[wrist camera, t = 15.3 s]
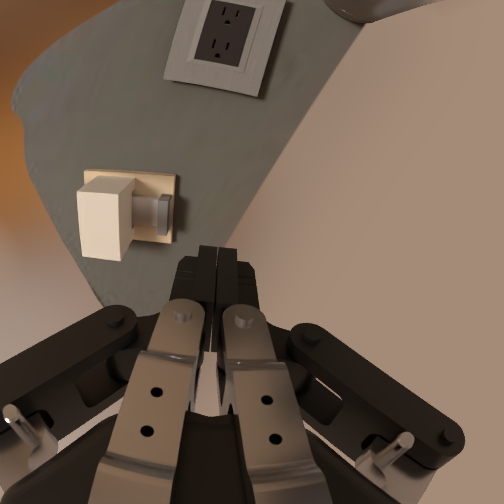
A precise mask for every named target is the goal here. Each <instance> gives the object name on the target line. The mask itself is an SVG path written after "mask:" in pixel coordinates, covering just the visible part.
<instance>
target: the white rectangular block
mask: <svg viewBox="0 0 504 504" xmlns="http://www.w3.org/2000/svg"><path fill="white" fill-rule="evenodd" d="M134 189H135V177H121V176H106V175H98V176H96V177H95V178H94V179H92V180H91V181H90V182H88V183H87V184H86V185H84V186H83V187H82V188H81V189H79V190H78V191H77V204H78V218H79V229H80V239H81V248H82V256H85V257H92V258H100V259H108V260H115V261H121V259H122V258H123V256H124V254H125V252H126V250H127V249H128V247H129V245H130V243H131V242H132V240H133V238H134V226H132V192H133V190H134Z"/></svg>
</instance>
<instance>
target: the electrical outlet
mask: <svg viewBox="0 0 504 504" xmlns="http://www.w3.org/2000/svg"><path fill="white" fill-rule="evenodd" d="M285 2H286V0H186V1H185V4H184V7H183V10H182V13H181V16H180V19H179V22H178V26H177V29H176V32H175V36H174V39H173V43H172V46H171V50H170V53H169V57H168V61H167V65H166V69H165V73H164V77H163V79H166V80H173V81H180V82H186V83H193V84H198V85H204V86H209V87H215V88H220V89H225V90H229V91H234V92H238V93H243V94H247V95H251V96H255V97H257V96H258V92H259V89H260V85H261V82H262V78H263V75H264V71H265V68H266V64H267V61H268V58H269V54H270V51H271V48H272V44H273V41H274V38H275V34H276V31H277V28H278V25H279V21H280V18H281V15H282V12H283V9H284V5H285Z"/></svg>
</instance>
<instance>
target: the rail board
mask: <svg viewBox="0 0 504 504" xmlns="http://www.w3.org/2000/svg"><path fill="white" fill-rule="evenodd" d="M98 175H106V176H121V177H135V189H134V190H133V192H132V226H134V238H133V240H143V241H152V242H162V243H171V242H172V231H173V211H174V194H175V180H176V174H167V173H155V172H141V171H125V170H105V169H86V170H85V171H84V185H86V184H87V183H88V182H90V181H91V180H92V179H94V178H95V177H96V176H98Z"/></svg>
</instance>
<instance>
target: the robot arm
mask: <svg viewBox="0 0 504 504" xmlns="http://www.w3.org/2000/svg"><path fill="white" fill-rule="evenodd" d="M324 1H325V2H326V4H327V5H328V6H329V7H330V8H331V9H332V10H333V11H334V12H335V13H337V14H338V15H340V16H341V17H343V18H345V19H347V20H350V21H352V22H357V23H372V22H375V21H378V20H380V19H383V18H386V17H389V16H392V15H395V14H398V13H401V12H404V11H407V10H410V9H413V8H417V7H420V6H423V5H427V4H431V3H434V2H438V1H442V0H324ZM216 261H217V266H216ZM212 318H213V319H212ZM211 328H212V340H211V341H212V342H211V343H212V344H211V352H217V364H216V378H217V390H218V401H219V414H220V416H215V417H208V416H204V415H201V414H198V413H194V411H195V404H196V397H197V391H198V384H199V378H200V372H201V365H202V363H203V359H204V358H203V357H204V351H207V352H209V348H210V338H211ZM316 378H318V379H319V380H320V381H321V382H323V383H324V384H325V385H326V386H328V387H329V388H330V389H332V390H333V391H334V392H335V393H337V394H338V395H339V396H340V397H341V399H342V400H341V399H340V398H339V397H337V396H336V395H335V394H334V393H332V392H331V391H330V390H328V389H327V388H326V387H325V386H323V385H322V384H321V383H320V382H318V381H317V380H316ZM123 396H124V398H123V401H122V404H121V407H120V410H119V413H118V414H115V415H113V416H110V417H108V418H106V419H104V420H103V421H101V422H100V423H98V424H97V425H95V426H94V427H93V428H91V429H90V430H89V431H87V432H86V433H85V434H84V435H82V436H81V437H79V438H78V439H77V440H75V441H74V442H73V443H71V444H70V445H69V446H67V447H66V448H64V449H63V450H62V451H60V452H59V453H58V454H57V451H58V441H59V440H61V439H62V438H64V437H65V436H67V435H68V434H70V433H71V432H73V431H74V430H76V429H77V428H79V427H80V426H81V425H83V424H85V423H86V422H87V421H89V420H90V419H92V418H93V417H95V416H96V415H98V414H99V413H101V412H102V411H103V410H105V409H106V408H108V407H109V406H110V405H112V404H113V403H115V402H116V401H118V400H119V399H120V398H122V397H123ZM302 419H303V420H304V421H305V422H306V423H307V424H308V425H310V426H311V427H312V428H313V429H314V430H316V431H317V432H318V433H319V434H320V435H322V436H323V437H324V438H325V439H327V440H328V441H329V442H330V443H331V444H333V445H334V446H335V447H337V448H338V449H339V450H340V451H342V452H343V453H344V454H345V455H347V456H348V457H349V458H351V459H352V460H353V461H355V468H354V467H353V466H352V465H351V464H349V463H348V462H347V461H346V460H345V459H343V458H342V457H341V456H340V455H338V454H337V453H336V452H335V451H334V450H333V449H331V448H330V447H329V446H328V445H327V444H326V443H324V441H322V440H321V439H320V438H319V437H318V436H316V435H315V434H313V433H312V432H311V431H309V430H307V429H305V427H304V424H303V420H302ZM464 445H465V436H464V433H463V431H462V429H461V427H460V426H459V425H458V424H457V423H456V422H455V421H453V420H452V419H450V418H449V417H447V416H446V415H444V414H443V413H441V412H440V411H439V410H437V409H436V408H434V407H433V406H431V405H430V404H428V403H427V402H426V401H424V400H423V399H421V398H420V397H418V396H417V395H416V394H414V393H412V392H411V391H410V390H408V389H407V388H405V387H404V386H403V385H401V384H400V383H399V382H397V381H396V380H394V379H393V378H391V377H390V376H389V375H387V374H386V373H384V372H383V371H382V370H380V369H379V368H377V367H376V366H375V365H373V364H372V363H371V362H369V361H368V360H366V359H365V358H364V357H362V356H361V355H359V354H358V353H357V352H355V351H354V350H352V349H351V348H349V347H348V346H347V345H345V344H344V343H342V342H341V341H340V340H339V339H337V338H336V337H334V336H333V335H332V334H330V333H329V332H328V331H326V330H325V329H324V328H322V327H320V326H318V325H315V324H311V323H301V324H297V325H296V326H294V327H293V328H292V329H291V331H289V330H285V329H282V328H279V327H276V326H273V325H272V324H270V323H268V322H267V321H266V318H265V316H264V314H263V313H262V312H261V311H260V308H259V301H258V293H257V286H256V279H255V271H254V269H253V267H252V266H251V265H250V264H249V262H242V261H237V249H232V248H223V247H219V250H218V258H217V247H213V246H203V245H200V247H199V253H198V257H192V256H185V257H184V258H183V259H182V260H180V261H179V263H178V267H177V272H176V275H175V279H174V283H173V287H172V291H171V295H170V299H169V302H167V303H166V304H165V305H164V306H163V307H162V309H161V312H159V313H157V314H154V315H150V316H143V317H137V316H136V314H135V312H134V311H133V310H132V309H130V308H128V307H126V306H122V305H111V306H107V307H104V308H102V309H101V310H98V311H97V312H95V313H93V314H91V315H89V316H87V317H85V318H83V319H82V320H80V321H78V322H76V323H74V324H72V325H70V326H69V327H67V328H65V329H63V330H61V331H59V332H58V333H56V334H54V335H52V336H50V337H48V338H47V339H45V340H43V341H41V342H39V343H37V344H35V345H34V346H32V347H30V348H28V349H26V350H24V351H23V352H21V353H19V354H17V355H15V356H14V357H12V358H10V359H8V360H6V361H5V362H3V363H1V364H0V485H1V487H2V489H3V491H4V492H5V493H4V495H3V497H2V499H1V502H0V504H417V503H418V501H419V500H420V498H421V497H422V495H423V493H424V492H425V490H426V488H427V487H428V485H429V483H430V481H431V480H432V478H433V476H434V474H435V472H436V471H437V469H439V468H440V467H442V466H443V465H444V464H446V463H447V462H449V461H450V460H451V459H453V458H454V457H455V456H457V455H458V454H459V453H460V452H461V451H462V450H463V448H464Z"/></svg>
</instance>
